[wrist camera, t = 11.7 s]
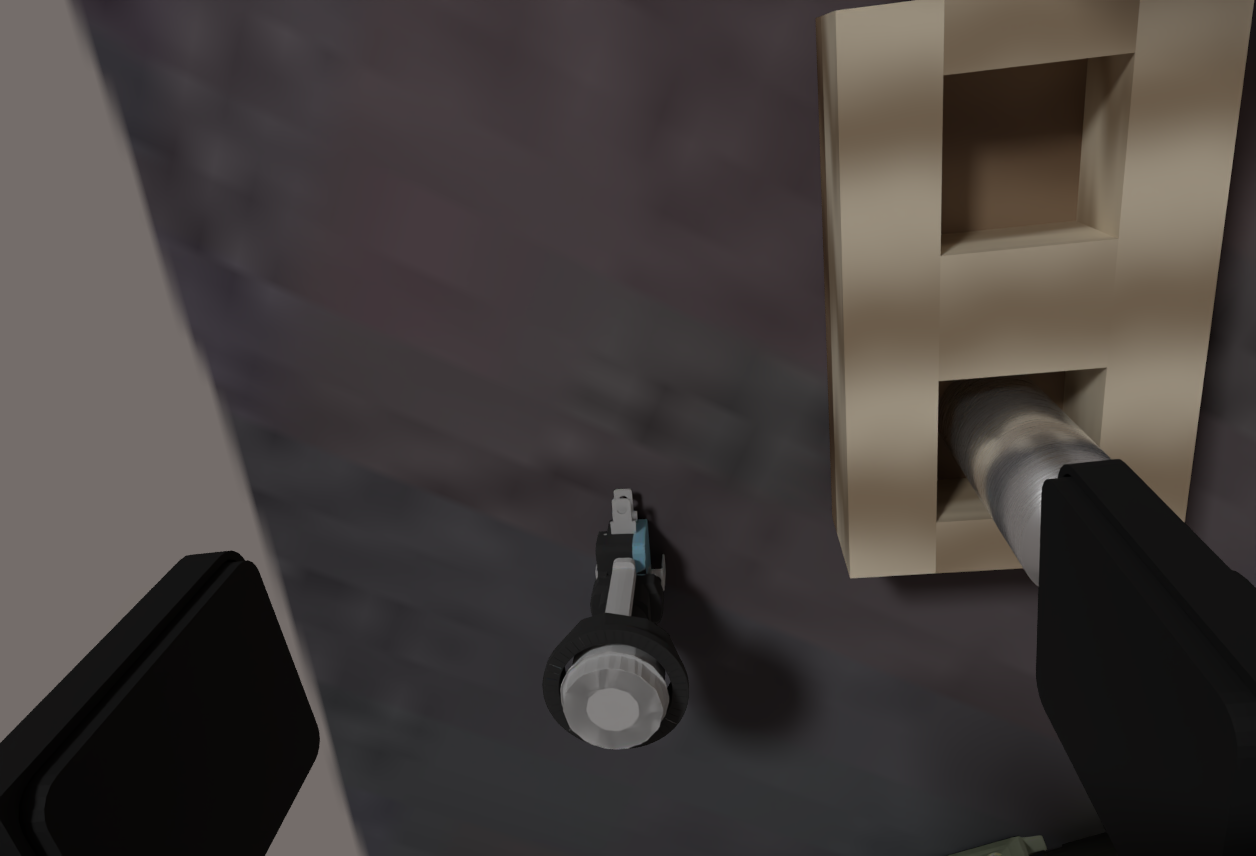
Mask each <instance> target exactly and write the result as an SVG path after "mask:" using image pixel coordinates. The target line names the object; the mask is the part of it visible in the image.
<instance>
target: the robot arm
mask: <svg viewBox="0 0 1256 856" xmlns="http://www.w3.org/2000/svg"><path fill="white" fill-rule="evenodd" d="M1036 680H1037V687H1038V692H1039V696H1040V699H1041V702H1042V705H1043V707H1044V710H1045V712H1046V714H1047V715H1048V717H1049V719H1050V721H1051V723H1052V725H1053V727H1054V729H1055V731H1056V733H1057V735H1058V737H1059V739H1060V741H1061V743H1062V745H1063V747H1064V749H1065V751H1066V753H1067V755H1068V757H1069V759H1070V761H1071V763H1072V765H1073V767H1074V769H1075V771H1076V772H1077V774H1078V776H1079V778H1080V780H1081V782H1082V784H1083V786H1084V788H1085V790H1086V792H1087V794H1088V796H1089V798H1090V800H1091V802H1092V804H1093V806H1094V808H1095V810H1096V812H1097V814H1098V816H1099V818H1100V820H1101V822H1102V824H1103V826H1104V827H1105V829H1106V831H1107V833H1108V835H1109V837H1110V839H1111V841H1112V843H1113V845H1114V847H1115V849H1116V851H1117V853H1118V855H1119V856H1256V588H1255V587H1254V586H1253V585H1252V584H1251V583H1250V582H1249V581H1248V580H1247V579H1246V578H1245V577H1243V576H1242V575H1241V574H1239V573H1238V572H1236V571H1233V570H1231V569H1230V568H1229V567H1228V566H1227V565H1226V564H1225V563H1224V562H1223V561H1222V560H1221V559H1220V558H1219V557H1218V556H1217V555H1216V554H1215V553H1214V552H1213V551H1212V550H1211V549H1210V548H1209V547H1208V546H1207V545H1206V544H1205V543H1204V542H1203V541H1202V540H1201V539H1200V538H1199V537H1198V536H1197V535H1196V534H1195V533H1194V532H1193V531H1192V530H1191V529H1190V528H1189V527H1188V526H1187V525H1186V524H1185V523H1184V522H1183V521H1182V520H1181V519H1180V518H1179V517H1178V516H1177V515H1176V514H1175V513H1174V512H1173V511H1172V510H1171V508H1170V507H1169V506H1168V505H1167V504H1166V503H1165V502H1164V501H1163V500H1162V499H1161V498H1160V497H1159V496H1158V495H1157V494H1156V493H1155V492H1154V491H1153V490H1152V489H1151V488H1150V487H1149V486H1148V485H1147V484H1146V483H1145V482H1144V481H1143V480H1142V479H1141V478H1140V477H1139V476H1138V475H1137V474H1136V473H1135V472H1134V471H1133V470H1132V469H1131V468H1130V467H1129V466H1128V465H1127V464H1126V463H1125V462H1124V461H1122V460H1121V459H1112V460H1102V461H1092V462H1083V463H1073V464H1064V465H1063V466H1062V467H1061V468H1060V471H1059V474H1058V478H1054V479H1046V480H1045V481H1044V483H1043V486H1042V493H1041V523H1040V556H1039V590H1038V623H1037V657H1036ZM319 742H320V737H319V729H318V726H317V723H316V720H315V718H314V715H313V712H312V710H311V707H310V704H309V702H308V700H307V697H306V694H305V691H304V689H303V686H302V684H301V681H300V678H299V675H298V673H297V670H296V668H295V665H294V662H293V660H292V657H291V654H290V652H289V649H288V647H287V644H286V641H285V639H284V636H283V633H282V631H281V628H280V625H279V623H278V620H277V618H276V615H275V612H274V610H273V607H272V604H271V602H270V599H269V597H268V594H267V591H266V589H265V586H264V584H263V581H262V578H261V576H260V573H259V571H258V569H257V567H256V566H255V565H254V564H253V563H252V562H250V561H245V560H244V558H243V557H242V556H241V555H240V554H239V553H237V552H235V551H224V552H215V553H204V554H195V555H188V556H185V557H184V558H183V559H181V560H180V561H179V562H178V563H177V564H176V565H175V566H174V567H173V568H172V569H171V570H170V571H169V572H168V573H167V574H166V575H165V576H164V577H163V578H162V579H161V580H160V581H159V582H158V583H157V584H156V585H155V586H154V587H153V588H152V589H151V590H150V591H149V592H148V593H147V594H146V595H145V596H144V597H143V598H142V599H141V600H140V601H139V602H138V603H137V604H136V605H135V606H134V607H133V609H131V610H130V612H129V613H128V614H127V615H126V616H125V617H124V618H123V619H122V620H121V621H120V622H119V623H118V624H117V625H116V626H115V627H114V628H113V629H112V630H111V631H110V632H109V633H108V634H107V635H106V636H105V637H104V638H103V639H102V640H101V641H100V642H99V643H98V644H97V645H96V646H95V647H94V648H93V649H92V650H91V651H90V652H89V653H88V654H87V655H86V656H85V657H84V658H83V659H82V660H81V661H80V662H79V663H78V665H76V666H75V668H74V669H73V670H72V671H71V672H70V673H69V674H68V675H67V676H66V677H65V678H64V679H63V680H62V681H61V682H60V683H59V684H58V685H57V686H56V687H55V688H54V689H53V690H52V691H51V692H50V693H49V694H48V695H47V696H46V697H45V698H44V699H43V700H42V701H41V702H40V703H39V704H38V705H37V706H36V707H35V708H34V709H33V710H32V711H31V712H30V713H29V715H27V716H26V718H25V719H24V720H22V721H21V722H20V723H19V725H18V726H17V727H16V728H15V729H14V730H13V731H12V732H11V733H10V734H9V735H8V736H7V737H6V738H5V739H4V740H3V741H2V742H1V743H0V856H265V854H266V853H267V851H268V849H269V847H270V845H271V843H272V841H273V839H274V837H275V835H276V834H277V832H278V830H279V828H280V826H281V824H282V822H283V820H284V818H285V816H286V815H287V813H288V811H289V809H290V807H291V805H292V803H293V801H294V799H295V797H296V796H297V794H298V792H299V790H300V788H301V786H302V784H303V782H304V780H305V778H306V777H307V775H308V773H309V771H310V769H311V767H312V765H313V763H314V761H315V759H316V757H317V754H318V750H319Z"/></svg>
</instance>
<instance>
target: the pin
mask: <svg viewBox="0 0 1256 856" xmlns="http://www.w3.org/2000/svg"><path fill="white" fill-rule="evenodd" d="M938 431H939V434H940V436H941V438H942V439H943V441H944V443H945V444H946V446H947V447H948V449H949V451H950V452H951V454H952V455H953V457H954V458H955V460H956V462H957V463H958V465H959V466H960V468H961V470H962V471H963V473H964V474H965V476H966V478H967V479H968V481H969V482H970V484H971V486H972V487H973V489H974V490H975V492H976V494H977V495H978V497H979V498H980V500H981V502H982V503H983V505H984V506H985V508H986V510H987V511H988V513H989V514H990V516H991V518H992V519H993V521H994V522H995V524H996V525H997V527H998V529H999V530H1000V532H1001V533H1002V535H1003V537H1004V538H1005V540H1006V541H1007V543H1008V545H1009V546H1010V548H1011V549H1012V551H1013V553H1014V554H1015V556H1016V557H1017V559H1018V561H1019V562H1020V564H1021V565H1022V567H1023V569H1024V570H1025V572H1026V573H1027V575H1028V576H1029V578H1030V579H1031V580H1032V581H1033V582H1034V583H1035V584H1036V585H1037V586H1038V587H1039V556H1040V523H1041V493H1042V486H1043V483H1044V481H1045V480H1046V479H1054V478H1058V474H1059V471H1060V468H1061V467H1062V466H1063V465H1064V464H1073V463H1083V462H1092V461H1102V460H1112V459H1111V458H1110V457H1109V456H1108V455H1107V454H1106V453H1105V452H1104V451H1103V450H1102V449H1101V448H1100V447H1099V446H1098V445H1097V444H1096V443H1095V442H1094V441H1093V440H1092V439H1091V438H1090V437H1089V436H1088V435H1087V434H1086V433H1085V432H1084V431H1083V430H1082V429H1081V428H1080V427H1079V426H1078V425H1077V424H1076V423H1075V422H1074V421H1072V420H1071V419H1070V418H1069V417H1068V416H1067V415H1066V414H1065V413H1064V412H1063V411H1062V410H1061V409H1060V408H1059V407H1058V406H1057V405H1056V404H1055V403H1054V402H1053V401H1052V400H1051V399H1050V398H1049V397H1048V396H1047V395H1046V394H1045V393H1044V392H1043V391H1042V390H1041V389H1040V388H1039V387H1038V386H1037V385H1036V384H1035V383H1034V382H1033V381H1032V380H1031V379H1030V378H1029V377H1028V376H1027V375H1026V374H1021V375H1008V376H996V377H984V378H972V379H960V380H954V381H953V382H952V383H951V384H950V385H949V386H948V387H947V389H946V390H945V392H944V393H943V395H942V397H941V399H940V401H939V404H938Z"/></svg>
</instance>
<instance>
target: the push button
mask: <svg viewBox="0 0 1256 856" xmlns="http://www.w3.org/2000/svg"><path fill="white" fill-rule="evenodd" d="M621 496H626V497H627V498H623V499H619V498H620V497H621ZM612 509H613V512H612V515H613V520H612V521H609V526H608V531H606V532H599V533H598V538H597V543H596V560H597V565H596V570H595V572H596V581H595V584H594V587H593V592H592V597H591V603H590V606H591V613H592V617H589V618H585V619H583V620H581V621H580V622H579V623H578V624H577V625H576V626H575V627H574V629H573V630H572V631H571V632H570V633H569V634H568V635H567V636H566V637H565V638H564V639H563V641H562V642H561V643H560V644H559V645H558V646H557V647H556V648H555V650H554V651H553V652H552V654H551V656H550V657H549V660H548V662H547V665H546V668H545V672H544V676H543V695H544V699H545V702H546V705H547V707H548V709H549V711H550V713H551V714H552V716H553V717H554V719H555V720H556V721H557V722H558V723H559V724H560V725H561V726H562V727H563V728H564V729H565V730H566V731H568V732H569V733H570V734H572V735H573V736H575V737H577V738H578V739H580V740H582V741H585V742H587V743H590V744H592V745H596V746H600V747H603V748H605V749H616V750H618V749H629V748H636V747H641V746H645V745H648V744H650V743H653V742H655V741H657V740H659V739H661V738H662V737H664V736H666V735H667V734H668V733H669V732H671V731H672V730H673V729H674V728H675V727H676V726H677V724H678V723H679V722H680V720H681V719H682V717H683V715H684V713H685V711H686V708H687V704H688V698H689V682H688V676H687V672H686V670H685V667H684V665H683V663H682V661H681V659H680V658H679V655H678V653H677V651H676V649H675V647H674V645H673V643H672V640H671V638H670V636H669V634H668V633H667V632H666V631H664V630H663V629H662V628H660V627H659V626H657V625H656V624H657V623H658V622H660V620H661V617H662V613H663V601H664V592H663V591H664V590H665V577H666V569H665V555H664V554H662V568H661V569H651V558H650V546H649V533H648V522H647V519H638V517H637V511H634V510H633V499H632V490H631V489H615V491H614V499H613V500H612ZM573 656H574V660H573V665H572V667H571V668H570V669H569V670H568V671H567V673H566V671H565V665H566V664H567V662H568V661H569V660H570V659H571V658H572V657H573ZM665 670H666V672H667V674H668V676H669V678H670V681H671V682H670V684H669V686H668V688H667V687H666V683H665Z"/></svg>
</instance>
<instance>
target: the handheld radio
mask: <svg viewBox="0 0 1256 856" xmlns="http://www.w3.org/2000/svg"><path fill="white" fill-rule="evenodd" d="M1062 846H1063V847H1062V848H1059V849H1055V850H1051V851H1048V852H1045V850H1047V847H1046V845H1045V842H1044V840H1043V837H1042V836H1031V837H1022V838H1021V837H1020V836H1017V837H1012V838H1008V839H1005V840H1001V841H998V842H994V843H991V844H987V845H983V846H980V847H976V848H973V849H969V850H966V851H962V852H958V853H955V854H951V855H948V856H1119V855H1118V853H1117V851H1116V849H1115V847H1114V845H1113V843H1112V841H1111V839H1110V837H1109V835H1108V833H1107V832H1106V833H1103V834H1099V835H1096V836H1092V837H1088V838H1085V839H1081V840H1077V841H1074V842H1070V843H1067V844H1063V845H1062Z"/></svg>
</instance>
